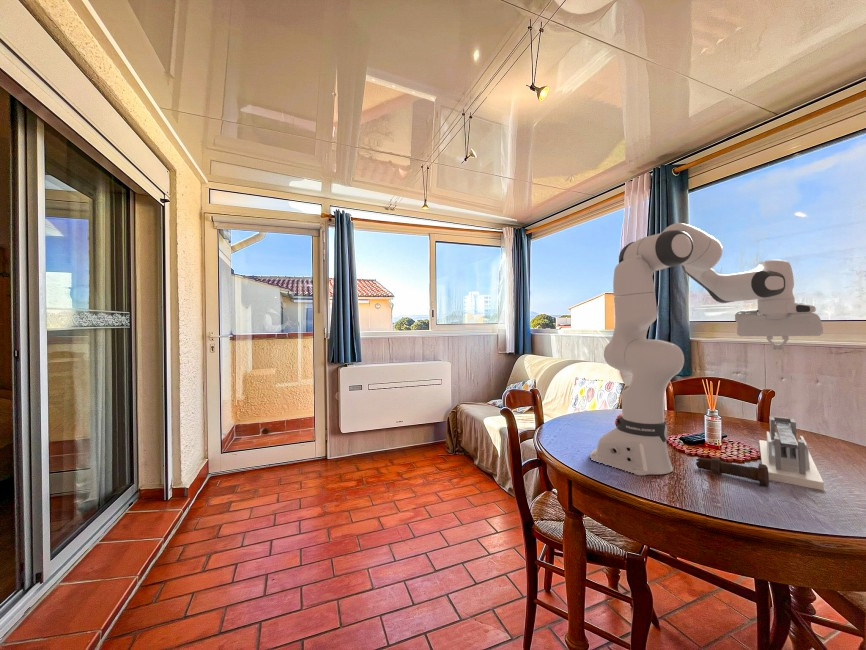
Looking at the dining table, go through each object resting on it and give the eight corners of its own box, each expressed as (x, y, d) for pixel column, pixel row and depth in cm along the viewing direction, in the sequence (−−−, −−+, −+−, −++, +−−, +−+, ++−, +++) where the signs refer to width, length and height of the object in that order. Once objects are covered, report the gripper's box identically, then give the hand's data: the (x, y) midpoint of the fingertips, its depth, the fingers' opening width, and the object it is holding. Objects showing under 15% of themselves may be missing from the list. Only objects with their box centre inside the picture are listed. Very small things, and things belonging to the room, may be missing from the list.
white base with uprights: (763, 478, 93) (761, 437, 93) (759, 445, 117) (758, 413, 117) (824, 490, 86) (821, 446, 86) (806, 452, 109) (805, 418, 109)
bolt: (698, 474, 101) (769, 489, 90) (694, 470, 98) (766, 485, 87) (699, 454, 103) (768, 467, 92) (695, 450, 100) (765, 462, 89)
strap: (781, 446, 93) (781, 442, 93) (775, 424, 111) (775, 421, 111) (797, 448, 91) (797, 445, 91) (788, 426, 109) (788, 423, 109)
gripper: (734, 310, 119) (736, 349, 118) (822, 306, 105) (825, 350, 105) (734, 310, 123) (736, 348, 123) (819, 306, 109) (821, 349, 109)
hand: (777, 349), depth 114 cm, fingers closed
